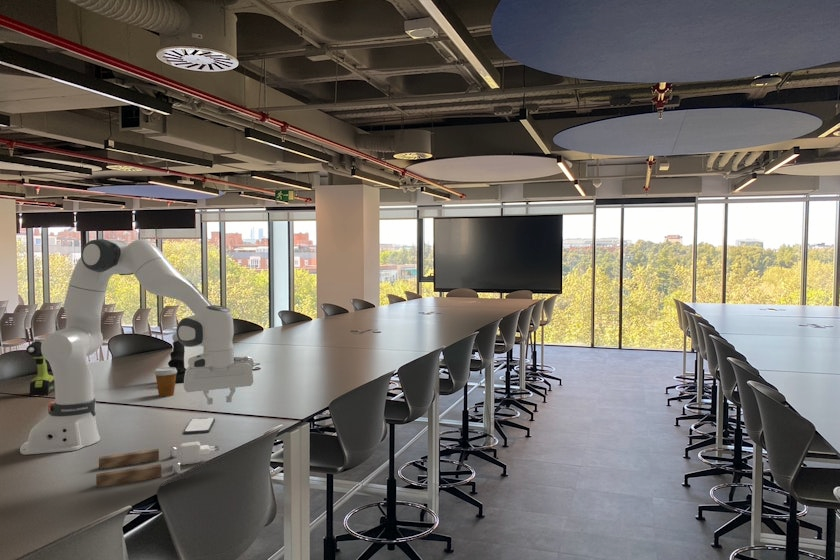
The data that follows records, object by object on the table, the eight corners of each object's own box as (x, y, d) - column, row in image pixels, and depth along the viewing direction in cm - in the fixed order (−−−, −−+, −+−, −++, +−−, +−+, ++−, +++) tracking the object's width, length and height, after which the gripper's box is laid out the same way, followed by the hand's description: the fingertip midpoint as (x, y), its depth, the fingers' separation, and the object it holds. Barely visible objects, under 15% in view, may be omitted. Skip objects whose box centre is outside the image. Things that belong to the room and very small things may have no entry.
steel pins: (173, 475, 161) (172, 464, 161) (169, 456, 176) (169, 447, 176) (180, 473, 162) (180, 463, 162) (176, 455, 177) (176, 446, 177)
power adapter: (218, 456, 177) (218, 437, 177) (219, 461, 173) (219, 442, 172) (179, 461, 173) (179, 442, 172) (180, 466, 168) (179, 447, 168)
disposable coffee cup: (169, 398, 252) (168, 371, 252) (150, 397, 254) (149, 370, 254) (182, 393, 262) (181, 367, 261) (163, 392, 264) (163, 366, 263)
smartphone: (209, 434, 201) (215, 421, 217) (209, 430, 201) (215, 417, 217) (182, 436, 199) (191, 422, 215) (182, 431, 199) (191, 418, 215)
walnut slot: (96, 487, 153) (96, 476, 153) (99, 467, 168) (99, 457, 168) (161, 476, 160) (161, 466, 160) (158, 458, 175) (158, 448, 175)
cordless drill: (40, 401, 248) (38, 344, 247) (21, 402, 245) (19, 344, 245) (55, 389, 270) (54, 337, 269) (38, 390, 267) (37, 338, 267)
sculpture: (196, 376, 299) (196, 329, 299) (191, 386, 277) (191, 335, 276) (165, 378, 295) (164, 330, 294) (157, 388, 273) (157, 336, 272)
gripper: (251, 354, 182) (251, 397, 182) (182, 359, 173) (183, 404, 173) (255, 357, 176) (255, 401, 177) (184, 362, 167) (185, 409, 167)
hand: (219, 403), depth 175 cm, fingers open, 4 cm apart
